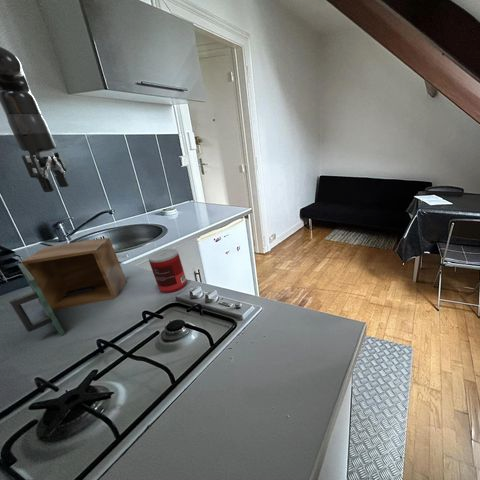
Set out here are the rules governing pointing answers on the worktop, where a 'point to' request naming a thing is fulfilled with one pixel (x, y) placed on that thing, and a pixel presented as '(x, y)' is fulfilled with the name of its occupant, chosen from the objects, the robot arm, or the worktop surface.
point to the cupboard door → (42, 300)
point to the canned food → (167, 270)
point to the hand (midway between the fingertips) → (57, 189)
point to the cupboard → (77, 272)
